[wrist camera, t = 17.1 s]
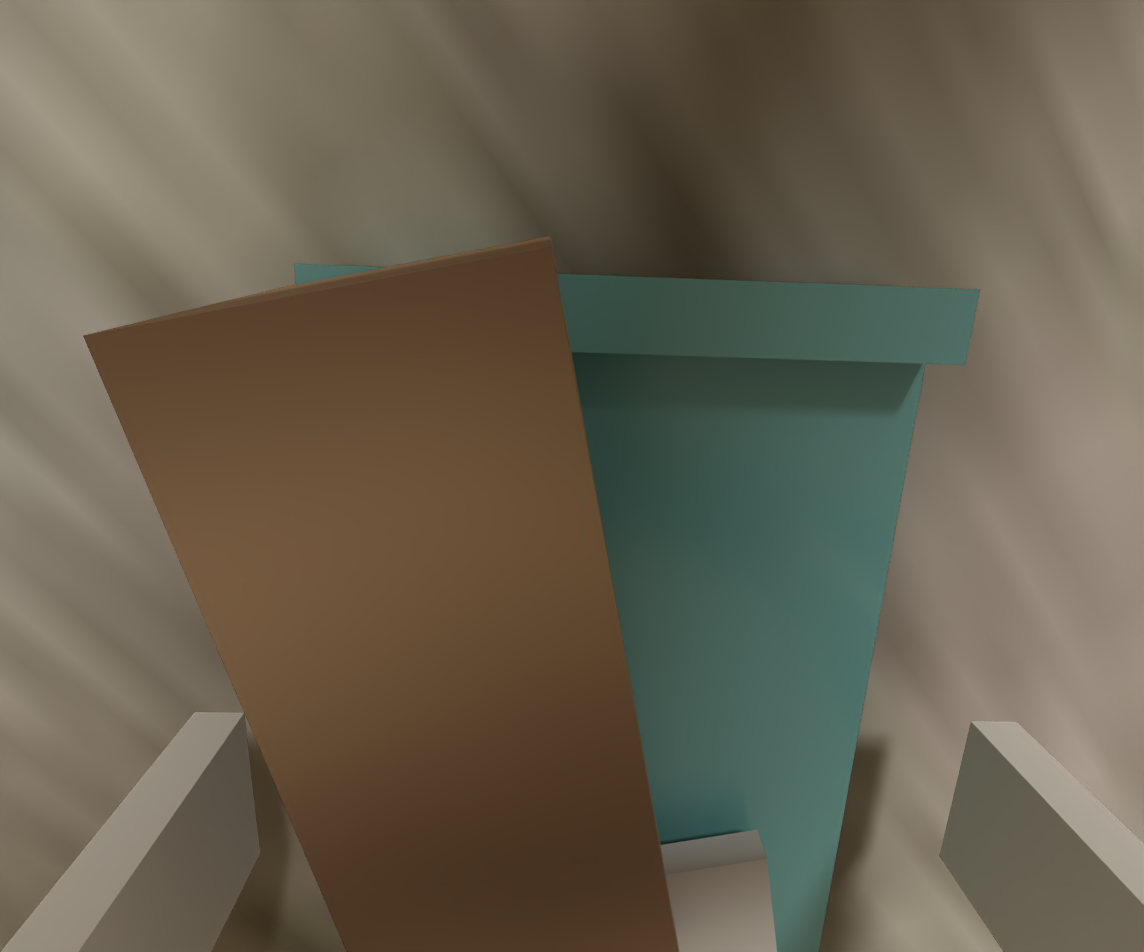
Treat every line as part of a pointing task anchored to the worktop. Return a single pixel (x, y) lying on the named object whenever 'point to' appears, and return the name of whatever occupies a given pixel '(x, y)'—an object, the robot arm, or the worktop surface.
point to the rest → (751, 535)
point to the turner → (424, 606)
